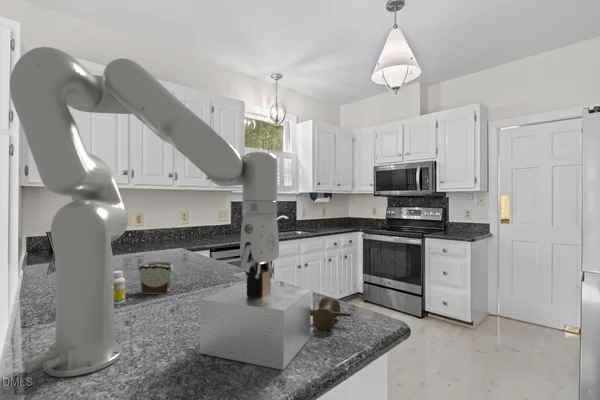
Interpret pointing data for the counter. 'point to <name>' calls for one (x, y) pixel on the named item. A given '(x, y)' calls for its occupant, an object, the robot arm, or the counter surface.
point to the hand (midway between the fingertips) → (258, 292)
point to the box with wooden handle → (256, 323)
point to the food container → (155, 277)
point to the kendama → (326, 313)
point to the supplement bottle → (119, 287)
